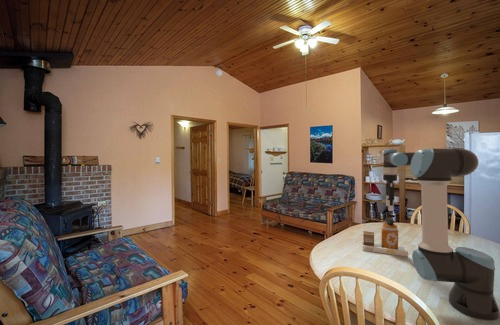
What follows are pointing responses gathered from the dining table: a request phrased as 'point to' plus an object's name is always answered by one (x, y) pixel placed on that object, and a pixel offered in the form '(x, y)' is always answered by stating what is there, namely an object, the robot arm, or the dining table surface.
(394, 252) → the shelf board
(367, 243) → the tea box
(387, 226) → the canister
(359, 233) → the dining table surface
